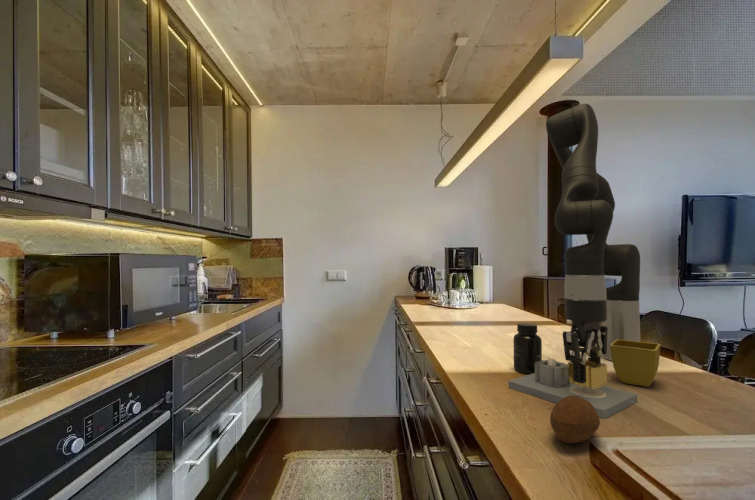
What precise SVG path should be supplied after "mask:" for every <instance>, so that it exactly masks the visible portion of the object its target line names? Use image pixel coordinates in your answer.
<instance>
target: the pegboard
mask: <svg viewBox="0 0 755 500" xmlns="http://www.w3.org/2000/svg"><path fill="white" fill-rule="evenodd" d="M547 360H548V365H549V366H556V361H557V360H556V359H555V358H547ZM507 384H508V389H511V390H515V391H518V392H521V393H525V394H528V395H530V396H533V397H537V398H539V399H543V400H545V401H549V402H551V403H555V404H557V403H558V402H559V401H560V400H561V399H563V398H565V397H567V396H578V397H580V398H583V399H585V400H587V401H588V402H590V403H591V404H592V406H593V407H594V408H595V409H596V412H597V414H598V417H599V419H600V418H601V419H604V420H605V419H607V418H609V417H610V416H613V415H615V414H617V413H618V412H619V413H620V412H621V411H622V410H624V409H626V408H628V407H631V406H632V405H634V404H636V403H638V393H634V392H630V391H627V390H622V389H618V388H614V387H611V386H608V385H606V386H604V387H601V388H597V389H591V388H589V387H583V386H580V385H576V384H574V383H570V384H568V385H566V386H563V387H560V388H556V387H554V386H548V385H544V384H541V383H539V382H536V381H535V373H533V374H526V375H522V376H520V377H518V378H514V379H510V380H508V383H507Z"/></svg>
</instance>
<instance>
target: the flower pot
mask: <svg viewBox="0 0 755 500" xmlns="http://www.w3.org/2000/svg"><path fill="white" fill-rule="evenodd" d="M610 350H611V356H612V367H613V369H614V371H615V373H616V375H617V378H619V380H620V381H621V383H623V384H629V385H635V386H640V387H643V388H644V387H646V388H648V387H650V386H651V385H652V383H653V381H654V379H655V377H656V375H657V373H658V370H659V365H660V354H661V344H660V343H655V342H646V341H641V342H637V341H629V340H619V339H616V340H615V341H614V342H613V343H611V344H610Z"/></svg>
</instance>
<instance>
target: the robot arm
mask: <svg viewBox="0 0 755 500" xmlns="http://www.w3.org/2000/svg"><path fill="white" fill-rule="evenodd" d="M598 123H599V122H598V120H597V117H596V113H595V110H594V108H593V107H592V106H591V105H590V104H589V103H581V104H578V105H576V106H575V105H574V106H573V107H571V108H568V109H565V110H563V111H560V112H557V113H556V114H554V115H552V116H549V117H548V118H547V119H546V122H545V128H546V129H545V130H546V133H547V136H548V139H549V141H550V144H551V146H552V148H553V151H554V153H555V155H556V157H557V160H558V162H559V165H560V167H561V168H562V171H561V189H562V190H561V197H560V200H559V202H558V205H557V208H556V211H555V213H554V226H555V228H556V230H557V232H559V233H560V234H561V235H565V236H575V235H577V236H581V235H585V236H586V239H587V243H584V244H580V245H576V246H571V247H568V248H567V249H566V250H565V253H564V264H565V267H564V271H565V272H564V273H565V277H564V278H565V279H564V288H563V289H564V317H565V319H567V320H569V321H571V327H570V331H562V340H563V341H562V342H563V349H564V358H565V361H567V362H570V361H571V362H572V363H573V380H574V381H575V382H578V383H582V384H583V383H585V382H586V372H585V367H586V365H585V362H586V360H591V361H596V362H600V363H602V361H601V360H602V359H603V358H604V360H605V359H606V360H608V361H612V356H611V350H610V344H611V343H613V342H614V341H615V340H616V339H619V340H629V341H637V342H642V341H641V318H640V316H641V315H640V313H641V311H640V289H641V287H640V285H641V283H640V279H641V254H640V251H639V249H638V247H637V245H635V244H631V243H626V244H625V243H624V244H623V243H622V244H608V243H607V239H608V236H609V232H610V229H611V226H612V223H613V219H614V211H615V207H616V201H615V198H614V195H613V191H612V189H611V185H610V183H609V181H608V180H607V179H606V178H605V177H604V176H602V175H601V174H599V173H598V172H597V155H598V154H597V153H598V143H599V142H598V141H599V124H598ZM576 145H577V146H576ZM573 146H576V147H575V148H574V150H573V151H572V150H571V147H573ZM606 276H607V277H610V276H611V277H621V280H620V281H619V282H618V283H617V284H615V285H613V286H608V287H607V283H606V279H605V277H606ZM600 323H601V325H600ZM587 357H588V358H587Z"/></svg>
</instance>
